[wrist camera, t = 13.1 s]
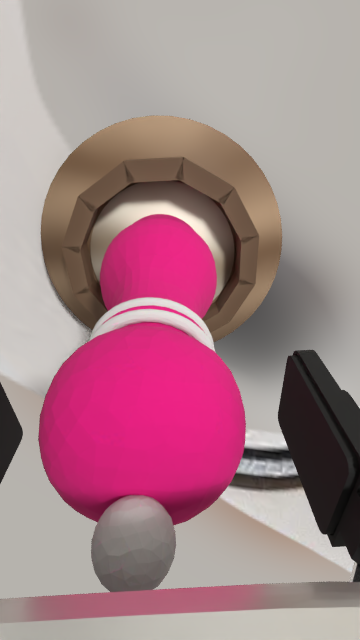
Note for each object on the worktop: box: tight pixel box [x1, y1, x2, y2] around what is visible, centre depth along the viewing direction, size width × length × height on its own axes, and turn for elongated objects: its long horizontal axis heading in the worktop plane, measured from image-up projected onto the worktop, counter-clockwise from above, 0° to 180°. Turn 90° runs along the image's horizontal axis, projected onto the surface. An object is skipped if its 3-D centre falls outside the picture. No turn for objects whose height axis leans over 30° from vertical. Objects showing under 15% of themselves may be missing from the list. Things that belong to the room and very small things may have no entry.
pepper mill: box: [38, 214, 246, 592], centre depth 14 cm, size 7×7×20 cm
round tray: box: [41, 116, 282, 342], centre depth 23 cm, size 18×18×3 cm
